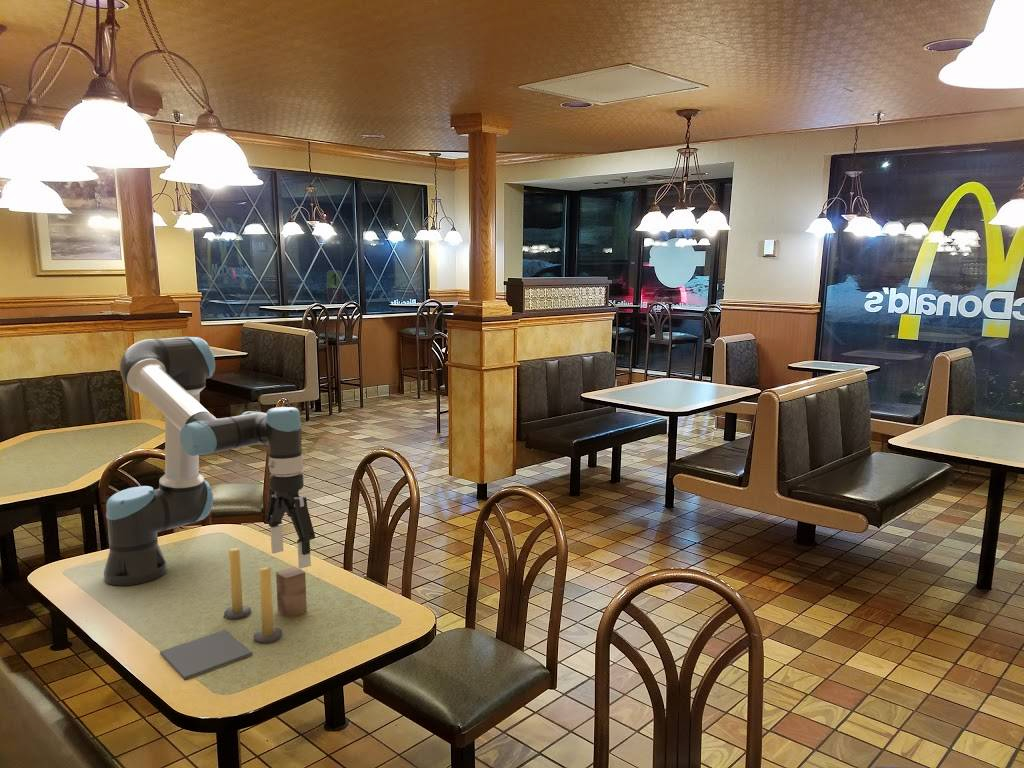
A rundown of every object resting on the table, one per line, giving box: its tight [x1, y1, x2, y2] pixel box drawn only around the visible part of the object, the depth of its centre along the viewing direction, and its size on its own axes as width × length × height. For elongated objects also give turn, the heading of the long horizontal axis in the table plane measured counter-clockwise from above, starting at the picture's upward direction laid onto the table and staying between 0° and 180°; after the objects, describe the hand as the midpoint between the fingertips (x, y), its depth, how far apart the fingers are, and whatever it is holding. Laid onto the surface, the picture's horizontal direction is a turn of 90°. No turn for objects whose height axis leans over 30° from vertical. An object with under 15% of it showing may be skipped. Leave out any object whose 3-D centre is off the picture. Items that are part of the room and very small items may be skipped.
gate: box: [223, 547, 283, 645], centre depth 164 cm, size 22×6×16 cm, turn 44°
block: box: [275, 566, 308, 619], centre depth 172 cm, size 5×5×10 cm
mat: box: [159, 629, 253, 681], centre depth 152 cm, size 14×14×1 cm
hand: (290, 559), depth 170 cm, fingers open, 13 cm apart
